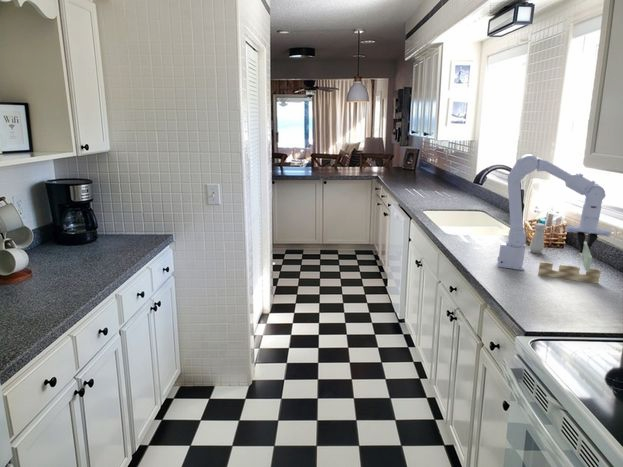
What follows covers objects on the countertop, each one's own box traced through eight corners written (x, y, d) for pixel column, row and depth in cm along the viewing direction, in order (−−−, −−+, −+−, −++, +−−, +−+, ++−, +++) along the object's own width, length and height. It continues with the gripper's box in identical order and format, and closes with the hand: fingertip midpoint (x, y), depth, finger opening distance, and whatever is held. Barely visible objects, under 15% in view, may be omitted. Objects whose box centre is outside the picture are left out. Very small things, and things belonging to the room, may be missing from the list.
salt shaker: (544, 254, 208) (549, 225, 204) (530, 253, 209) (535, 224, 205) (540, 251, 213) (545, 222, 210) (527, 249, 214) (531, 221, 211)
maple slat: (538, 274, 180) (540, 262, 179) (538, 273, 181) (540, 261, 180) (598, 283, 173) (600, 270, 172) (597, 282, 174) (600, 269, 173)
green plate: (579, 253, 181) (582, 241, 179) (583, 253, 181) (586, 241, 179) (585, 270, 167) (588, 257, 165) (589, 270, 167) (592, 257, 165)
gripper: (569, 216, 174) (563, 252, 177) (615, 221, 169) (607, 258, 172) (567, 213, 180) (561, 247, 183) (611, 217, 175) (603, 253, 178)
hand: (583, 252), depth 178 cm, fingers closed on green plate
